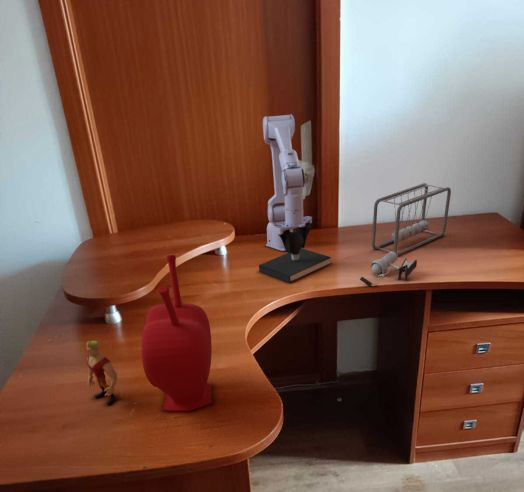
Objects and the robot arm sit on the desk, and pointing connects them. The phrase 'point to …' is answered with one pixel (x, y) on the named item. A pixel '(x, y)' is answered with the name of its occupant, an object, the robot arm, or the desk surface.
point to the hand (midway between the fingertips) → (294, 249)
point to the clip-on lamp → (382, 264)
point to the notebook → (294, 265)
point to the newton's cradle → (415, 227)
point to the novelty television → (178, 349)
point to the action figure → (100, 370)
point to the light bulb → (296, 245)
